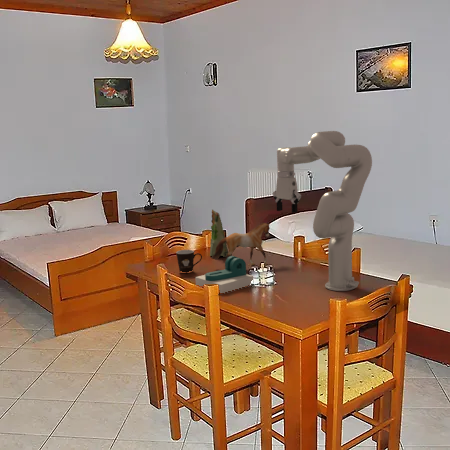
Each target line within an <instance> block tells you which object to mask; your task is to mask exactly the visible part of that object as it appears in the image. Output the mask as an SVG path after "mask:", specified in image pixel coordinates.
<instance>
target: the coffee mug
mask: <svg viewBox="0 0 450 450" xmlns="http://www.w3.org/2000/svg"><path fill="white" fill-rule="evenodd" d="M175 253H176V260H177V264H178V269H179V272H180V271H182V272H189V271H192V270H193V271H194V267H195V266H196V265H197V264H198V263H200V262H202V259H203V255H202V254H201V253H199V252H196V253H195V250H193V249H182V250H177V251H176V252H175ZM197 255H199V256H200V259H199V260H198V261H197V262H195V263H194V259H195V258H196V256H197Z"/></svg>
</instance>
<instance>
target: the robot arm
mask: <svg viewBox="0 0 450 450" xmlns="http://www.w3.org/2000/svg"><path fill="white" fill-rule="evenodd" d="M309 139H310V140H309V141H308V144H307V145H306V146H295V147H294V146H293V147H287V146H286V147H279V148H278V149H277V150H276V163H277V178H276V186H275V188H276V190H274V191H273V192H272V196H273V199H274V200H275V203H276V212H280V211H283V200H286V201H287V200H288V201H290V202H291V213H292V214H294V213H297V212H298V211H299V210H298V204H299V202H300V201H301V198H302V194H301V193H299V192H298V181H297V179H296V177H295V175H296V173H295V165H299V164H302V165H303V164H310V163H314V162H316V161H319V160H322V161H323V163H325V164H326V165H328V166H329V167H331V168H333V169H344V168H350V169H349V170H348V171H347V172H346V173H345V175H344V177H343V179H342V181H341V184H340V187H339V189H337V190H332V191H328V192H325V193H324V194H323V195H322V196H321V197H320V199H319V203H318V206H317V208H316V212H315V215H314V218H313V221H312V222H313V223H312V224H313V225H312V231H313V232H314V235H315V236H316V237H317V238H319V239H329V238H330V239H329V242H328V247H327V248H328V249H327V251H328V258H327V259H328V281H327V282H326V283H325V285H324V287H325V288H326V289H328V290H329V291H334V292H335V291H336V292H347V291H351V290H352V291H353V290H354V289H356V288H358V285H359V284H360V282H359V281H358V280H357V281H356V280H355V276H353V260H352V259H353V251H352V250H353V234H354V230H355V228H354V227H355V220H354V217H353V216H352V215H351V214H350V213H352V212H354V211H355V210H356V209H357V207H358V205H359V202H360V198H361V196H362V193H363V191H364V187H365V183H366V182H367V180H368V177H369V175H370V173H371V171H372V166H373V158H372V157H373V156H372V154H371V151H370V150H369V148H368V147H366V146H364V145H363V144H362V145H361V144H346V137H345V135H344V134H343V133H341V132H340V131H338V130H328V131H327V130H326V131H318V132H315V133H314V134H312V136H311V138H309ZM345 144H346V145H345Z"/></svg>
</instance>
